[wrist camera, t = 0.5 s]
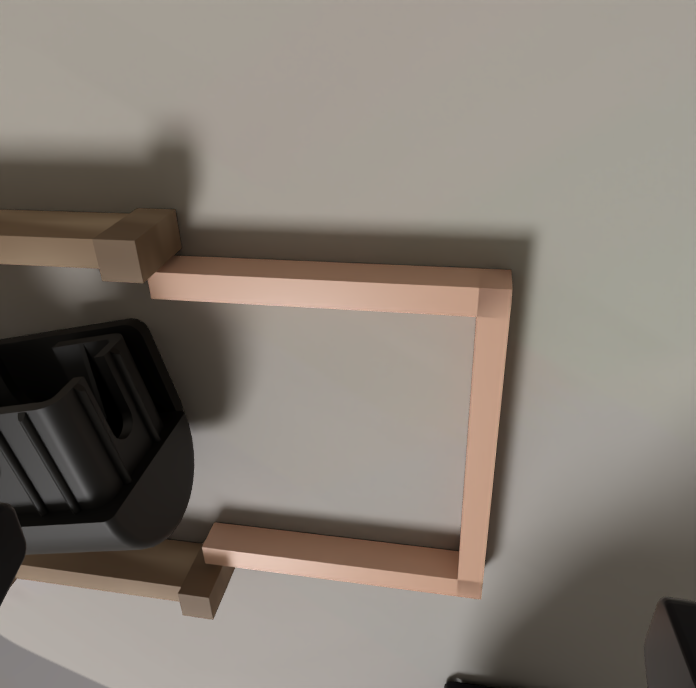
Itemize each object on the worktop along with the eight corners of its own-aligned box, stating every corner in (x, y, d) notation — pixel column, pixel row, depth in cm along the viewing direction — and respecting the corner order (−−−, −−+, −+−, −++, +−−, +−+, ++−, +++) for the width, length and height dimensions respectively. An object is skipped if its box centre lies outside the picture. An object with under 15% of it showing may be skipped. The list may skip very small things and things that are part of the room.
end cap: (28, 476, 31) (-79, 594, 25) (-51, 346, 27) (-194, 447, 22) (218, 459, 28) (147, 588, 22) (155, 313, 25) (53, 419, 19)
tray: (481, 570, 28) (480, 599, 27) (217, 538, 30) (205, 563, 29) (511, 269, 21) (512, 289, 20) (164, 255, 23) (145, 271, 22)
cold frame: (235, 565, 31) (213, 619, 28) (21, 537, 33) (-19, 585, 30) (175, 209, 22) (134, 240, 20) (-112, 200, 24) (-183, 228, 22)
